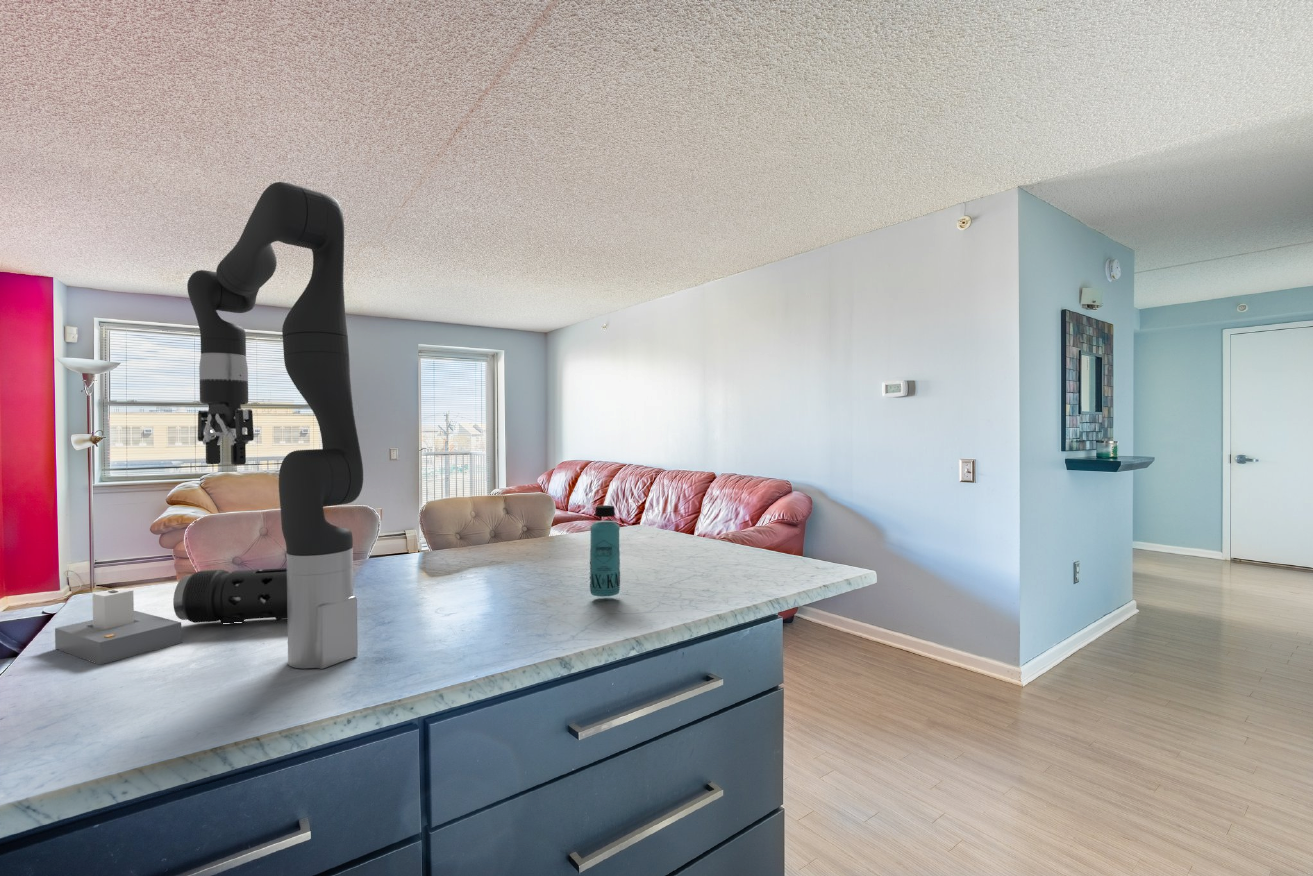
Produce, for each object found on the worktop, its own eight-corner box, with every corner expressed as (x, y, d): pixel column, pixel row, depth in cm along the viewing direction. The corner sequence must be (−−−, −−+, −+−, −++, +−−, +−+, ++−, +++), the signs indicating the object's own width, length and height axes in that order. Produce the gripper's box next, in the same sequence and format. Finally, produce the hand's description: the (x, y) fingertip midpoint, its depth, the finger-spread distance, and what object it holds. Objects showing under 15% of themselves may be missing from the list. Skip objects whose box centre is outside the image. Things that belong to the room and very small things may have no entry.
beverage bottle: (587, 597, 131) (586, 504, 130) (616, 594, 133) (616, 503, 132) (593, 605, 124) (592, 508, 124) (624, 602, 126) (623, 506, 126)
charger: (134, 642, 105) (133, 589, 104) (105, 650, 101) (104, 595, 101) (122, 639, 106) (121, 587, 106) (93, 646, 103) (92, 592, 103)
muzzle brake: (340, 623, 114) (339, 569, 114) (170, 635, 109) (169, 577, 108) (354, 609, 124) (353, 558, 124) (199, 619, 118) (198, 566, 118)
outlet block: (181, 642, 104) (181, 621, 104) (100, 664, 94) (99, 641, 94) (135, 629, 111) (135, 609, 111) (55, 648, 102) (54, 627, 102)
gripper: (266, 378, 115) (268, 464, 115) (224, 382, 121) (225, 463, 122) (223, 375, 108) (225, 466, 108) (181, 379, 115) (182, 464, 115)
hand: (225, 464), depth 115 cm, fingers open, 8 cm apart
